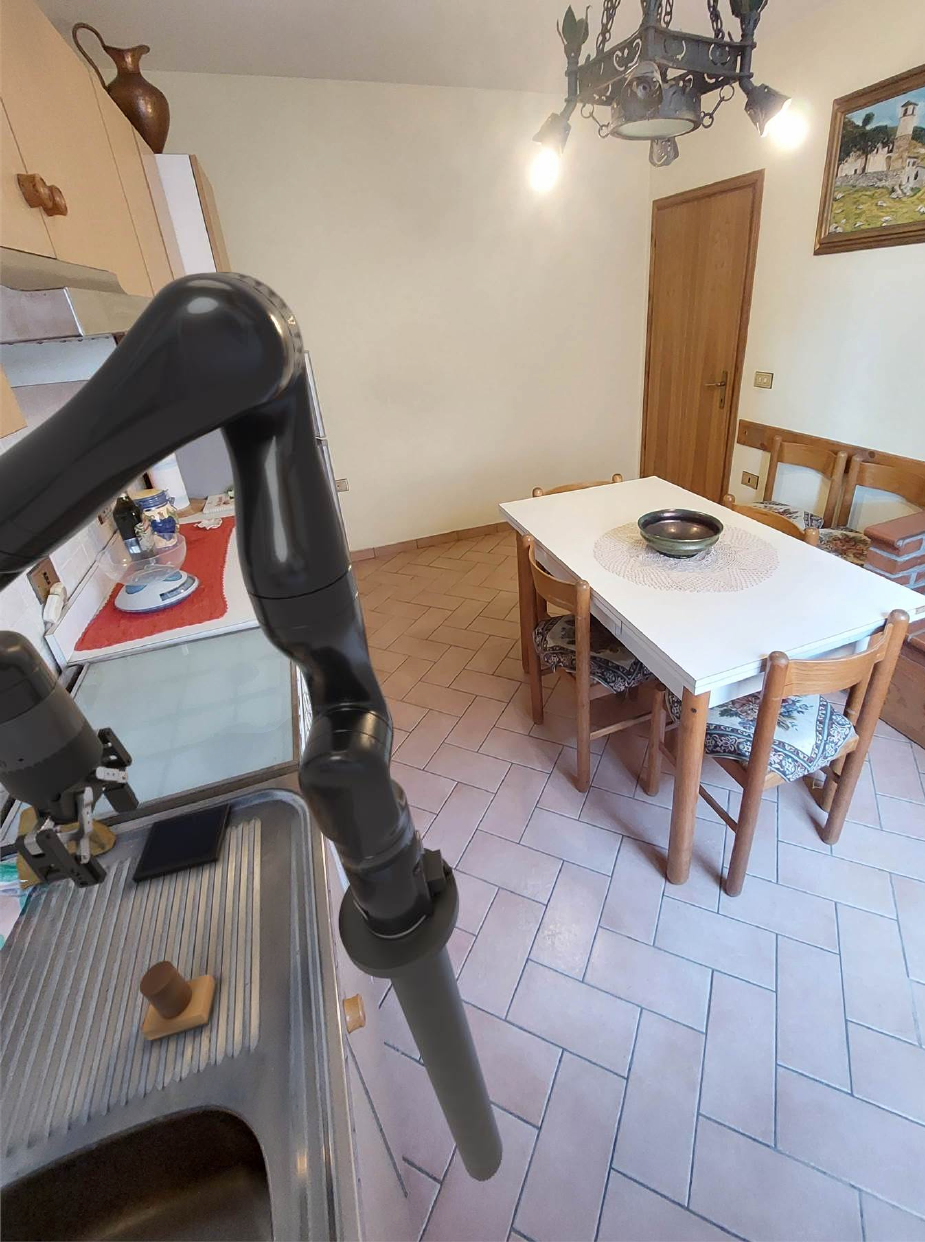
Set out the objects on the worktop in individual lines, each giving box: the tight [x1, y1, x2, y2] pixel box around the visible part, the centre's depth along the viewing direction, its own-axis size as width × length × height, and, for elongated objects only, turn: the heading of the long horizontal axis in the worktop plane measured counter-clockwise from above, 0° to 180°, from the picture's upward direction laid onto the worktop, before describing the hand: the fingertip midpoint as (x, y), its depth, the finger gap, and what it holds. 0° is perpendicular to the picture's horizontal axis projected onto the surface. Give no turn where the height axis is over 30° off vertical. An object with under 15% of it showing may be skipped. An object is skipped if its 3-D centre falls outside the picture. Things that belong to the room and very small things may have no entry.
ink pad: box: [131, 803, 232, 884], centre depth 81 cm, size 11×9×1 cm
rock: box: [15, 805, 116, 890], centre depth 78 cm, size 11×9×10 cm
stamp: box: [139, 960, 218, 1043], centre depth 60 cm, size 6×4×8 cm, turn 103°
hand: (113, 843), depth 59 cm, fingers open, 8 cm apart
